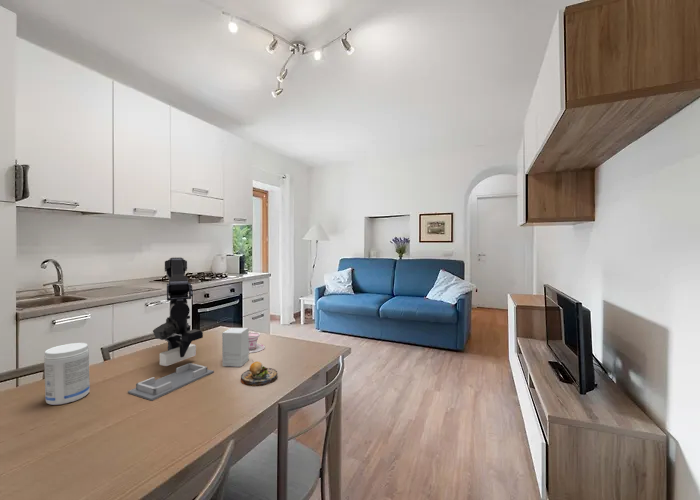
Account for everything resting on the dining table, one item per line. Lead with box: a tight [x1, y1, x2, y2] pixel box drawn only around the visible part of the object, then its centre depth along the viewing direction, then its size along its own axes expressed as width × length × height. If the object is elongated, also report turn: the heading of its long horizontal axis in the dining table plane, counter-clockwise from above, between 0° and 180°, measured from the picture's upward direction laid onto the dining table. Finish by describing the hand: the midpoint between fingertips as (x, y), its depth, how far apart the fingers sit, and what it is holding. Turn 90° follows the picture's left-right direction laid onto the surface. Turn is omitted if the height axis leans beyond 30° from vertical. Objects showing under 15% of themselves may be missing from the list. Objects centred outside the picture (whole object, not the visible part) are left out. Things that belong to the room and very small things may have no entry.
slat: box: [159, 343, 197, 367], centre depth 115 cm, size 4×12×4 cm, turn 156°
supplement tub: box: [43, 342, 91, 406], centre depth 90 cm, size 10×10×15 cm
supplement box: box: [221, 327, 250, 368], centre depth 118 cm, size 7×7×13 cm
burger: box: [240, 359, 278, 387], centre depth 105 cm, size 12×12×8 cm
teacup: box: [249, 331, 266, 354], centre depth 135 cm, size 12×12×6 cm
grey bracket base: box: [127, 362, 215, 402], centre depth 101 cm, size 11×22×2 cm, turn 156°
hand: (178, 356), depth 115 cm, fingers closed on slat, 3 cm apart
